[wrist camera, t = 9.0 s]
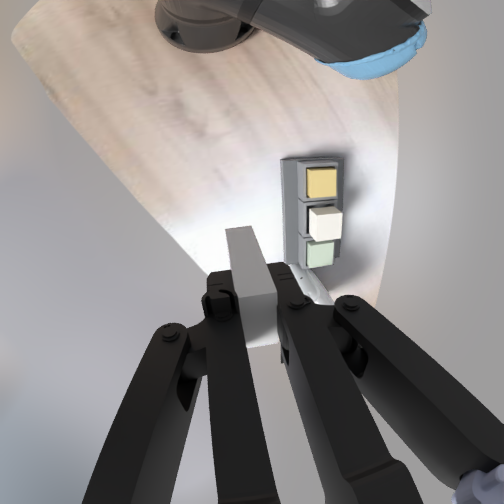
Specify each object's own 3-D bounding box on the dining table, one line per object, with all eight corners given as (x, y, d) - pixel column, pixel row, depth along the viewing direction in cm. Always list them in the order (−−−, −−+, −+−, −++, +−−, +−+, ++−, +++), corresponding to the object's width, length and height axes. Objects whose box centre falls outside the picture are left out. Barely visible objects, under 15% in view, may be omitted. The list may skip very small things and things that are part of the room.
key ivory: (309, 208, 39) (316, 215, 37) (333, 206, 40) (342, 212, 37) (309, 233, 41) (316, 241, 38) (332, 230, 42) (340, 238, 39)
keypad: (280, 159, 40) (287, 163, 36) (339, 157, 41) (350, 161, 37) (283, 260, 48) (289, 272, 44) (336, 253, 49) (345, 263, 45)
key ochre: (303, 167, 39) (310, 170, 36) (328, 166, 39) (336, 169, 36) (304, 192, 41) (310, 198, 38) (328, 190, 41) (336, 196, 38)
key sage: (304, 237, 44) (310, 245, 41) (326, 234, 44) (333, 242, 42) (304, 259, 46) (309, 268, 43) (325, 256, 46) (332, 264, 44)
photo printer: (281, 270, 49) (302, 314, 38) (300, 255, 48) (326, 296, 37) (310, 302, 53) (332, 345, 42) (327, 289, 53) (353, 330, 42)
